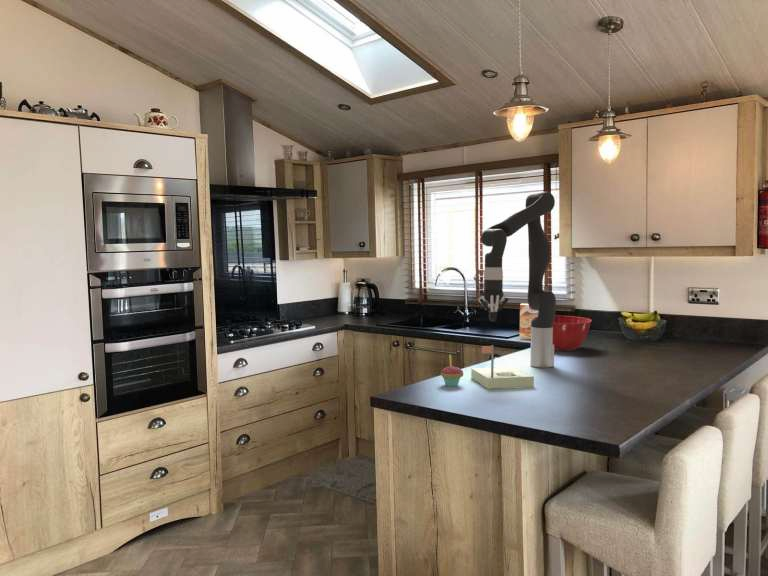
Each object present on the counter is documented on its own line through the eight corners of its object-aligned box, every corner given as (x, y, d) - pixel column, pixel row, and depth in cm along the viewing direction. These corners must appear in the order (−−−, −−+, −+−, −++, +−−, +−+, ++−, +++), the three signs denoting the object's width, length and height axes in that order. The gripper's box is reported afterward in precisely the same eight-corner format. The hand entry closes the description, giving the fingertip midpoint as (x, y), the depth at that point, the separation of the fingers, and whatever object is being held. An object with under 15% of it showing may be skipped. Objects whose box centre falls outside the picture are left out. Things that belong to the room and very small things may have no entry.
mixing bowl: (598, 354, 303) (599, 322, 302) (539, 353, 304) (540, 322, 303) (581, 344, 331) (582, 315, 330) (527, 344, 332) (527, 315, 331)
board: (513, 376, 253) (514, 337, 251) (533, 387, 234) (534, 344, 233) (466, 378, 249) (466, 338, 248) (482, 389, 230) (483, 346, 229)
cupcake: (436, 383, 240) (437, 352, 239) (456, 381, 243) (457, 351, 242) (447, 388, 232) (447, 356, 231) (467, 386, 235) (467, 354, 234)
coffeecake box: (519, 339, 350) (519, 304, 348) (520, 337, 356) (520, 303, 355) (546, 340, 345) (547, 305, 344) (547, 338, 352) (548, 304, 351)
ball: (514, 372, 236) (513, 385, 236) (508, 369, 241) (508, 381, 241) (501, 372, 235) (501, 385, 235) (496, 369, 240) (496, 382, 240)
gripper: (505, 277, 259) (504, 319, 260) (474, 278, 257) (474, 320, 258) (512, 278, 252) (511, 321, 253) (480, 279, 249) (480, 322, 251)
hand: (492, 320), depth 256 cm, fingers closed
